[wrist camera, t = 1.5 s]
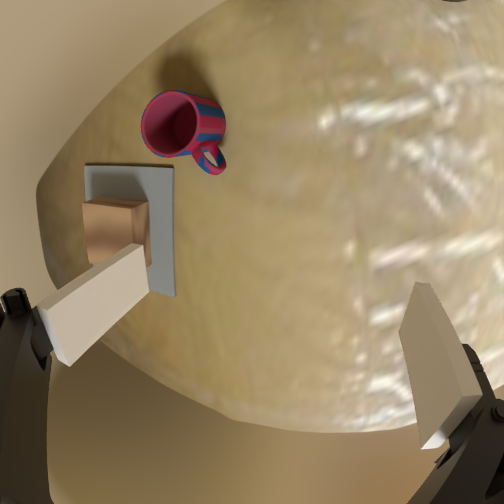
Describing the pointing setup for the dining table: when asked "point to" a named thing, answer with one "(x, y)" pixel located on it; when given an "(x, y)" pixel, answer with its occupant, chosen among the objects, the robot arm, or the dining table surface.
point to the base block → (115, 227)
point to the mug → (185, 128)
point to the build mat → (160, 211)
